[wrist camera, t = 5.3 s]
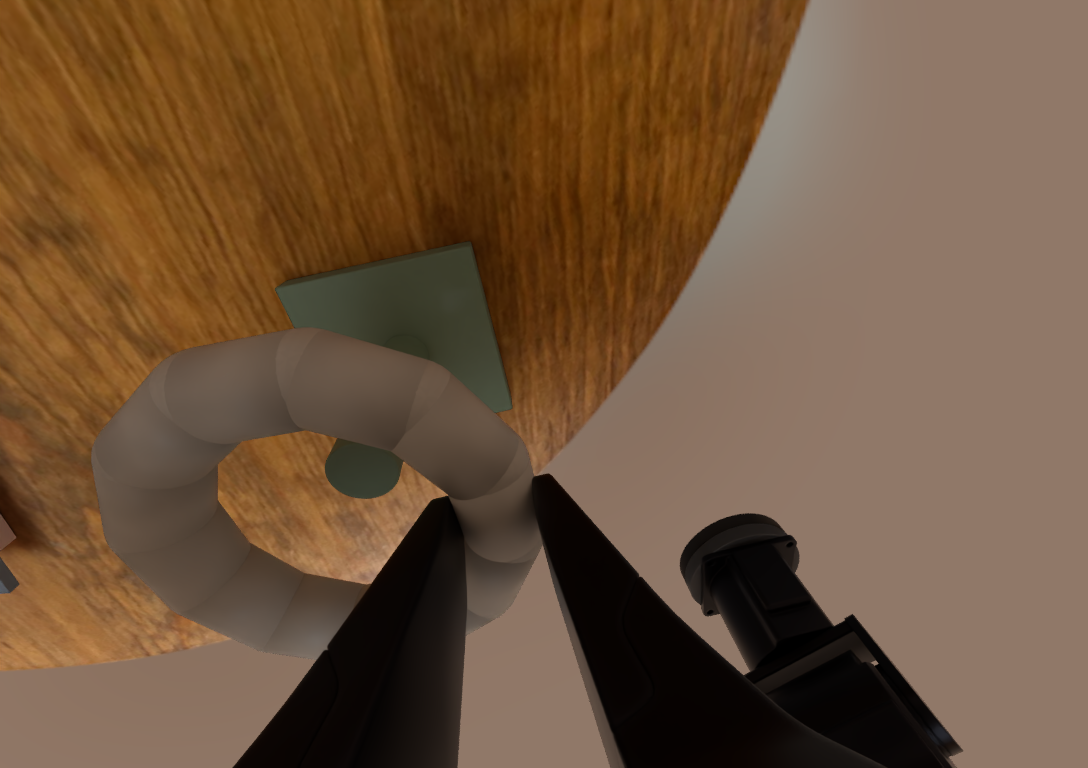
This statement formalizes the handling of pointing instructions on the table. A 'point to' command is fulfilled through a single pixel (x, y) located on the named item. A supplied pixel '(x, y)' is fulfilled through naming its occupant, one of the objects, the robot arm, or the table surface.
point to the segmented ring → (284, 407)
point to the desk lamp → (3, 578)
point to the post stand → (404, 336)
